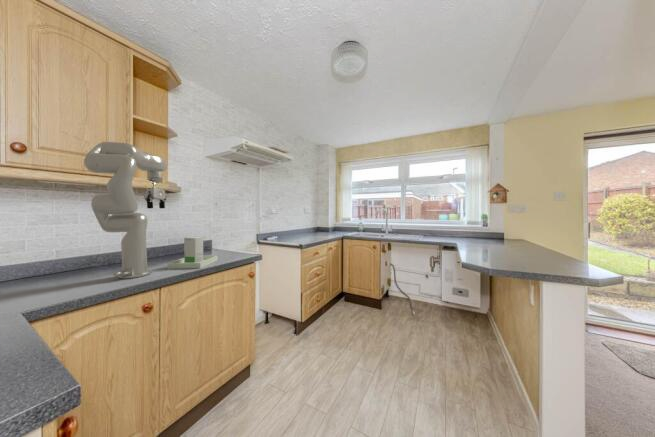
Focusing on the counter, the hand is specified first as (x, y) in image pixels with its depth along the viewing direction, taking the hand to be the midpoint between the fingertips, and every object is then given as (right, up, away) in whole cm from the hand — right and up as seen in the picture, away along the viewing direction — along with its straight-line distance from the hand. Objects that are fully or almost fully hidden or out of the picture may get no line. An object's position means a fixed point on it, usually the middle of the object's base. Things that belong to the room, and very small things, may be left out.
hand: (156, 208), depth 141 cm
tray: (+27, -34, -6) cm, 44 cm away
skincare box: (+27, -33, -6) cm, 44 cm away
